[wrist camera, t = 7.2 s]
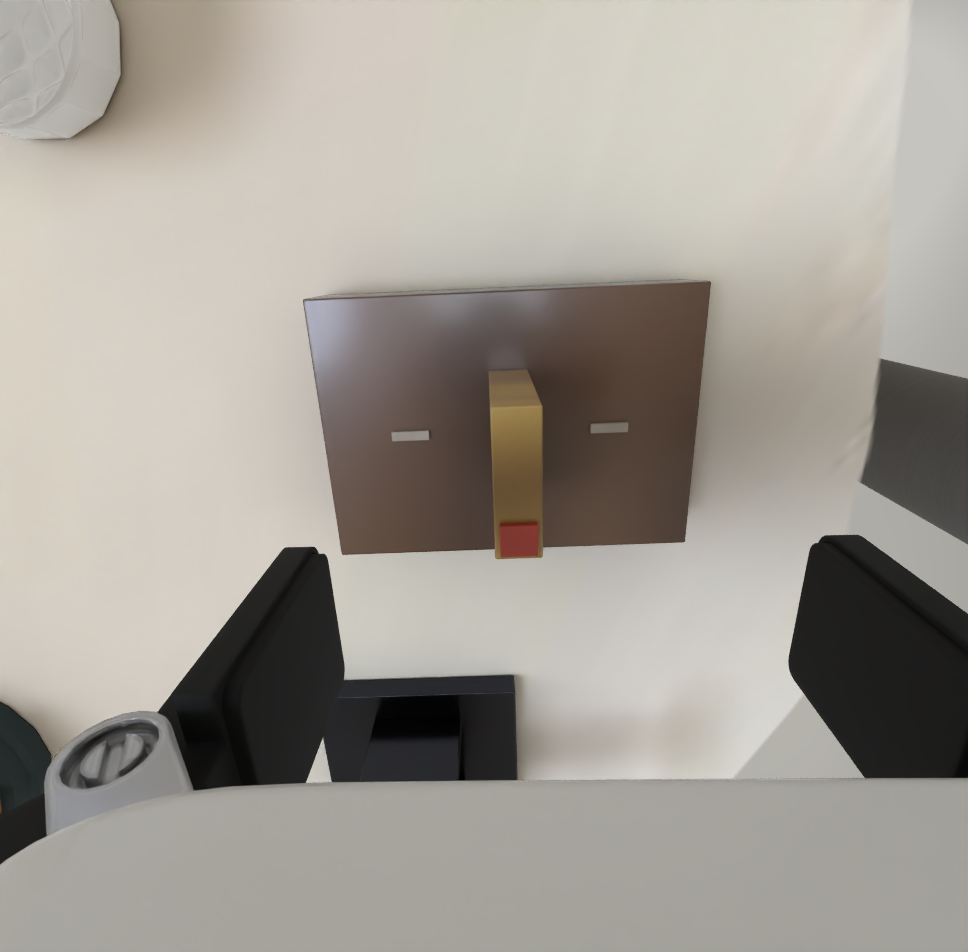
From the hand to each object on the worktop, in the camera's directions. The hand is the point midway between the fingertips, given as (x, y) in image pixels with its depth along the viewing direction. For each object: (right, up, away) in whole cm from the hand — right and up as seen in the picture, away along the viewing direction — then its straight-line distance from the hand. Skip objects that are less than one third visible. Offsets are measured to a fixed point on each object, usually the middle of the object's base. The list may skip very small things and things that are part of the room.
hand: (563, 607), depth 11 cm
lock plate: (-1, +5, +13) cm, 14 cm away
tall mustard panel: (-1, +4, +10) cm, 11 cm away
